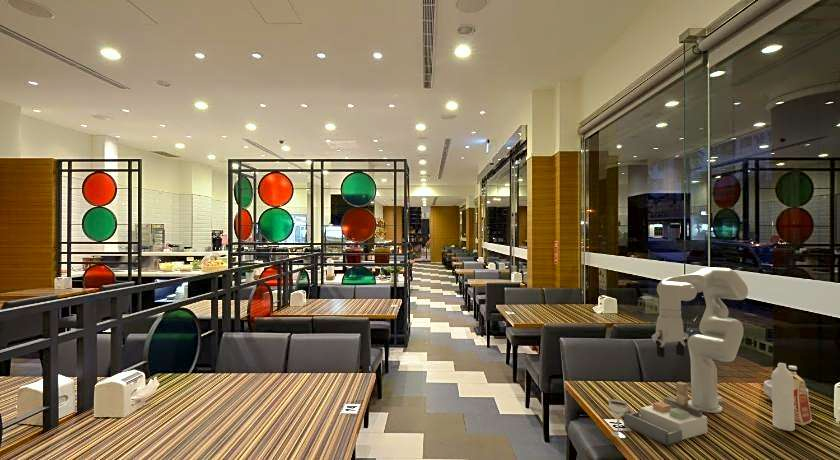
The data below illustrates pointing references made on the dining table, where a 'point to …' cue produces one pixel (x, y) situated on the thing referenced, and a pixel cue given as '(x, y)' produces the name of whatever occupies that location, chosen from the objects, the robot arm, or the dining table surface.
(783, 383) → the water bottle
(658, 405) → the terracotta tile
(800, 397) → the milk carton
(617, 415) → the wineglass
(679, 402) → the scraper
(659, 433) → the tray
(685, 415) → the green tile
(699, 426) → the white flat square block
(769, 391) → the paper bowls
